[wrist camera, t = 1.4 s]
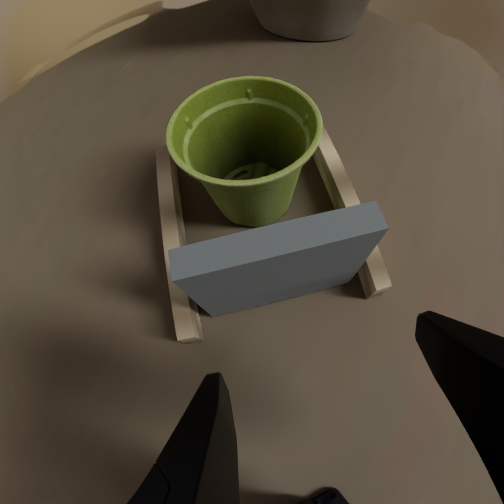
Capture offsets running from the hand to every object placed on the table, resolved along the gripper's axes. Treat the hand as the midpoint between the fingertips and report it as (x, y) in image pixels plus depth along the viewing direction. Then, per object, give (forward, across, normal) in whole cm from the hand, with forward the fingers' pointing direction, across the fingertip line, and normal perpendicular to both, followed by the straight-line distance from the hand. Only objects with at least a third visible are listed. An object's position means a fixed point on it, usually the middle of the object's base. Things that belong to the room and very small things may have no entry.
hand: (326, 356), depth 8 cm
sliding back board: (+13, 0, +4) cm, 14 cm away
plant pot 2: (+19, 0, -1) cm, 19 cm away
